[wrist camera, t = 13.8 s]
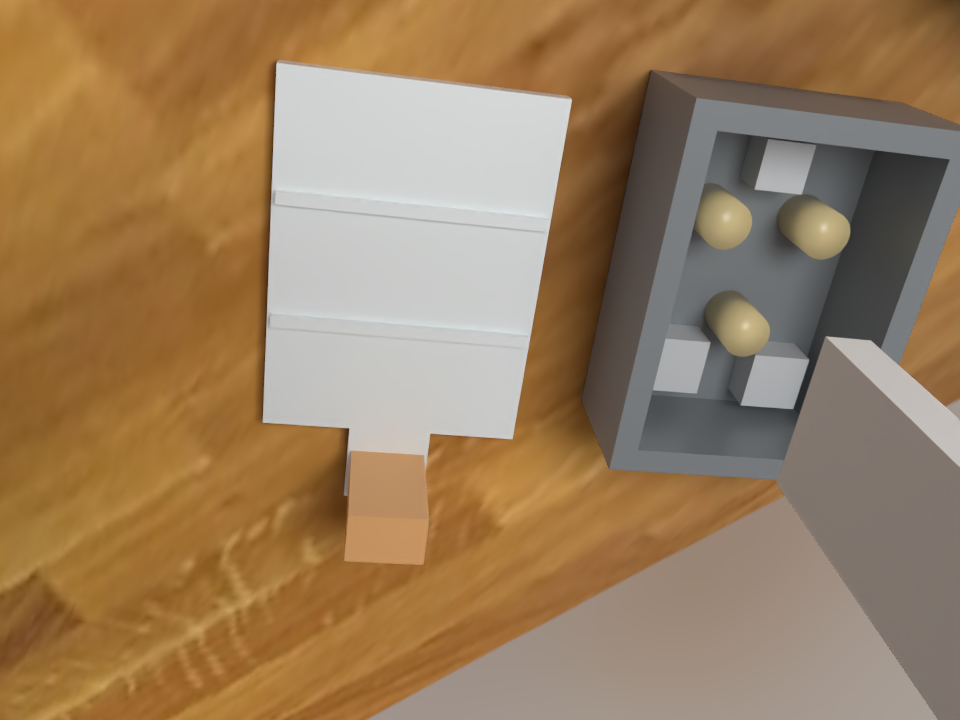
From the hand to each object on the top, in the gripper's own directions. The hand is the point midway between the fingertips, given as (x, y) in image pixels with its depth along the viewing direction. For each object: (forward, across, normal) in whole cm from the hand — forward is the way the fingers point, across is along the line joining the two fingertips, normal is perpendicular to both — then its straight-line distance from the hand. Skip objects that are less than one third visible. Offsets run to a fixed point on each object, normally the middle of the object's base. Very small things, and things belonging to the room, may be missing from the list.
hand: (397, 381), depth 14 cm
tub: (+32, +19, -8) cm, 38 cm away
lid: (+32, +2, -12) cm, 34 cm away
